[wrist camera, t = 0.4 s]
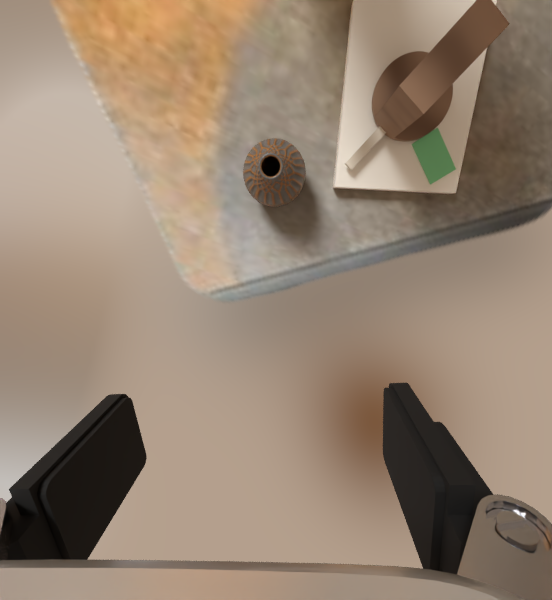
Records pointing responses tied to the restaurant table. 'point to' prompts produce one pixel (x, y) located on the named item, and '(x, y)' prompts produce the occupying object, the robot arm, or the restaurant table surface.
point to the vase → (274, 172)
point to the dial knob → (429, 79)
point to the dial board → (361, 83)
